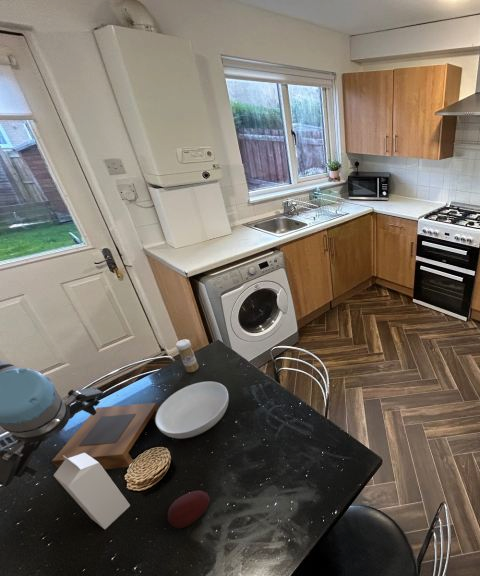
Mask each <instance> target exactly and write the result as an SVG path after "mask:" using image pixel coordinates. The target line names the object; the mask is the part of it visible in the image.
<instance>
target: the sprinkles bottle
mask: <svg viewBox="0 0 480 576" xmlns="http://www.w3.org/2000/svg"><path fill="white" fill-rule="evenodd" d="M175 347H176V350H178V353H179V356H180V359H181V361H182V364H183V366H184V368H185V372H187V373H195V372H196V371H197V370H198V369H199V364H198V362H197V358H196V356H195V353H194V350H193V349H192V344H191V341H190V340H189V339H186V338H184V339H181V340H178V341H177V342H176V344H175Z"/></svg>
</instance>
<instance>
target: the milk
mask: <svg viewBox="0 0 480 576" xmlns="http://www.w3.org/2000/svg"><path fill="white" fill-rule="evenodd" d="M63 457H64V458H65V461H64V462H63V463H62V465H61V466H60V467H59V469H58V468H57V470H56V471H55V472H54V474H53V477H54V478H55V479H56V481H57V482H58V483H59V484H60V485H61V486H62V488H64V490H65V491H66V493H68V494H69V495H70V496H71V498H72V499H73V500H74V501H75V502H76V503H77V504H78V505H79V506H80V508H81V509H82V510H83V511H84V512H85V513H86V514H87V515H88V517H89V518H90V519H91V520H92V521H93V522H94V523H96V524H97V525H98V526H100V527H101V529H104V530H106V529H107V528H109V526H111V525H112V523H114V522H115V521H116V520H117V519H118V518H119V517H120V516H121V515H122V514H123V513H125V512H126V511H127V509H129V508H130V507H131V504H130V503H129V502H128V500H127V499H126V497H125V496H124V494H123V493H122V492H121V491H120V489H119V488H118V487H117V485H116V483H115V482H114V481H113V480H112V477H110V475H109V474H108V472H107V471H106V469H103V467H102V466H101V465H100V463H99V462H97V461H96V460H95V459H93V458H92V457H90V456H89V455H87V454H86V453H82V454H79V455H76V456H73V457H70V458H66V457H65V456H64V455H63Z"/></svg>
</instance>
